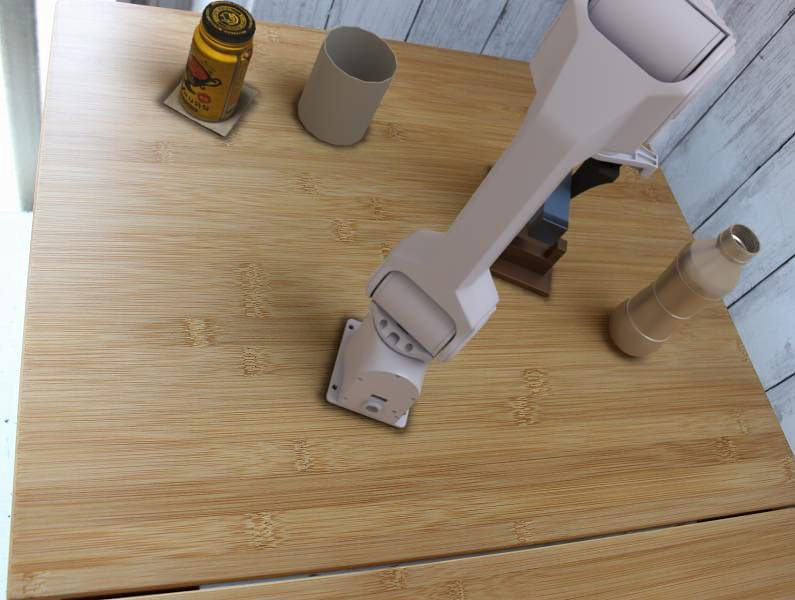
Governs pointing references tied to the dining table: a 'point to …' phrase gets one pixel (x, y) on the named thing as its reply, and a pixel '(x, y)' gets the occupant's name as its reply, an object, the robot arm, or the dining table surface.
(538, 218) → the handle
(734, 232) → the plastic bottle
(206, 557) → the dining table surface
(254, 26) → the condiment
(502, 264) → the holder
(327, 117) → the cup
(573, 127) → the robot arm
